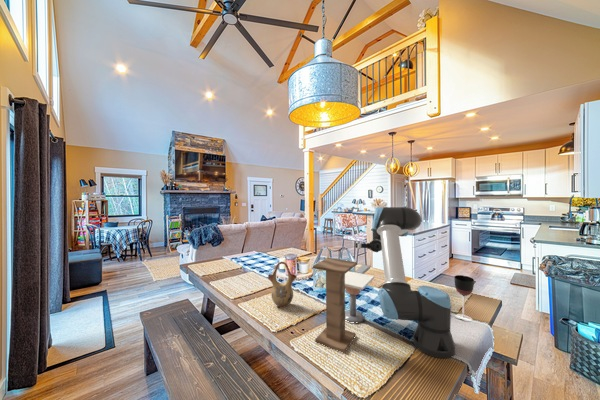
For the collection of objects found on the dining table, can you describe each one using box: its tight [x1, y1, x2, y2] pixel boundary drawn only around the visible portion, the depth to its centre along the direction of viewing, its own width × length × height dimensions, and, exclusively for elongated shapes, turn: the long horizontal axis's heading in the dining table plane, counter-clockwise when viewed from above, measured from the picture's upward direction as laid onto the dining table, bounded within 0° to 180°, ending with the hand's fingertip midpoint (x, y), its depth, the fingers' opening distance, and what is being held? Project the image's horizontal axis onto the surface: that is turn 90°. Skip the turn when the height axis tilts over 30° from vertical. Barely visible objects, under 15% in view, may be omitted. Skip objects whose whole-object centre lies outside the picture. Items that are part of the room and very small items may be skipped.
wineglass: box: [453, 274, 475, 320], centre depth 120 cm, size 8×9×20 cm
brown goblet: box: [345, 286, 364, 323], centre depth 121 cm, size 11×11×20 cm
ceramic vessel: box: [267, 261, 298, 308], centre depth 135 cm, size 16×9×25 cm, turn 91°
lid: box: [345, 264, 375, 291], centre depth 124 cm, size 30×17×2 cm, turn 146°
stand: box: [312, 257, 358, 354], centre depth 103 cm, size 14×14×33 cm
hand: (370, 247), depth 134 cm, fingers open, 13 cm apart
